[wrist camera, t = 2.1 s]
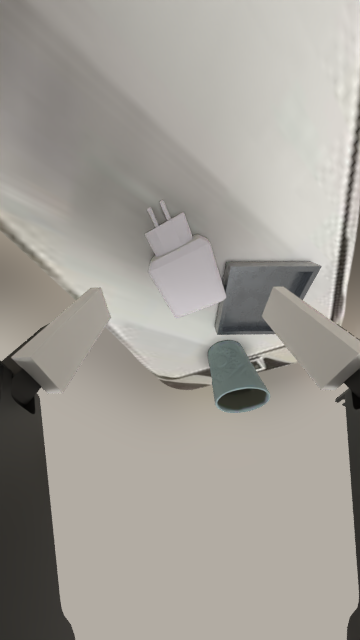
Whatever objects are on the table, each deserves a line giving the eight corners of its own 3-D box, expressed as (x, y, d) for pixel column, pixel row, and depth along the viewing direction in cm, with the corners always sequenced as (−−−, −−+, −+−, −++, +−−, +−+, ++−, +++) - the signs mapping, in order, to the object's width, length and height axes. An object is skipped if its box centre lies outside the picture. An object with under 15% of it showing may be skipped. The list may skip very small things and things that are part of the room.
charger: (189, 185, 19) (220, 286, 27) (128, 221, 21) (174, 305, 29) (192, 179, 15) (227, 299, 23) (117, 224, 17) (174, 319, 25)
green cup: (209, 337, 34) (221, 387, 24) (252, 338, 34) (281, 388, 25) (203, 364, 40) (211, 413, 30) (239, 365, 40) (259, 413, 31)
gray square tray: (226, 261, 24) (230, 266, 22) (309, 261, 24) (321, 266, 22) (214, 326, 32) (217, 334, 30) (276, 326, 32) (283, 333, 30)
